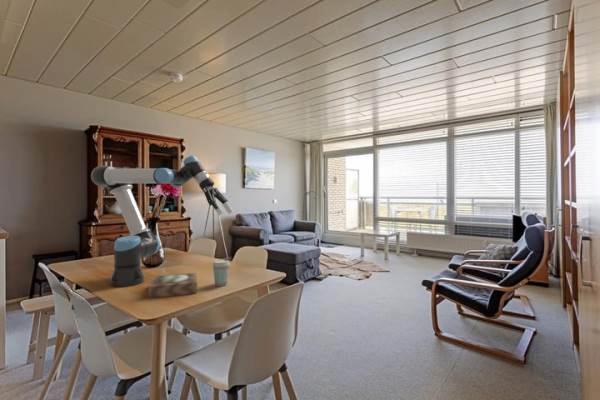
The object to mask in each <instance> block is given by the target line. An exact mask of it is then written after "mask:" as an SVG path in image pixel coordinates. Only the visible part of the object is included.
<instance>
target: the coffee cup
mask: <svg viewBox="0 0 600 400" xmlns="http://www.w3.org/2000/svg"><path fill="white" fill-rule="evenodd" d="M230 266H231V263H230V261H229V260H228V259H215V260H213V263H212V269H213V277H214V286H215V287H224V286H228V285H227V284H228V278H229V271H230V270H229V269H230Z"/></svg>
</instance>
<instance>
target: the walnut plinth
mask: <svg viewBox="0 0 600 400" xmlns="http://www.w3.org/2000/svg"><path fill="white" fill-rule="evenodd" d="M197 293H198V281H197V272H190V273H180V274H179V273H177V274H164V275H154V276H152V278H151V281H150V284H149V286H148V298H149V299H152V298H153V299H154V298H162V297H173V296H182V295H191V294H197Z"/></svg>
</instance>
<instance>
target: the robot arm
mask: <svg viewBox="0 0 600 400" xmlns="http://www.w3.org/2000/svg"><path fill="white" fill-rule="evenodd" d="M182 162H183V164H184V165H183V166H182V167H181V168H180V169H172V168H171V169H170V168H168V167H160V168H124V167H120V166H109V165H98V166H96V167H94V168H93V170H92V171H91V174H90V178H91V181H92V183H94V185H96V186H98V187H101V188H108V190H109V191H108V192H109V193H110V194H111V195H113V196H114V198H115V200H116V203H117V204H118V207H119V209H120V210H119V211H120V212H121V215H122V217H123V219H124V221H125V225H126V226H127V229H128V231H129V234H130V235H127V236H122V237H119V238H117V239H116V240H114V243H113V244H114V246H113V253H114V254H113V255H114V257H113V259H114V264H113V265H114V269H113V272H112V274H111V277H110V281H109V285H110V286H112V287H121V288H123V287H128V286H129V287H130V286H135V285H140V284H141V283H143V282H145V276H144V272H143V271H142V268H141V259H143V258H147V257H151V256H153V255H156V253H157V252H159V249H160V247H161V240H160V238H159V237H158V236H157V235H155V234H153V232H152V230H151V229H150V228H147V225H146V224H145V221H144V218H143V216H142V213H141V211H140V208H139V206H138V203H137V201H136V199H135V197H134V194H133V192H132V189H133V184H170V186H172V187H173V188H175V189H180V188H181V187H183V186H184V185H185V184H186V183H187V182H189V181H190V180H191V179H194V181H195V182H196V184H197V185H198V186H199V188H200V189H201V191H202V192H203V193H204V195H205V198H206V201H207V203H208V205H209V206H212V207H213V209H214V210H215V212H216V213H217V215H218V217H219V216H221V215H223V214H224V211H223V209H222V208H221V206H220V204H218V202H216V199H217V200H218V201H219V202H220V203H221V205H222V207H223V208H224V209H225V211H226V212H227V214H228V215H230V214H232V213H233V212H234V210H233V209H232V208H231V206H230V205H229V202H228V199H227V198H226V197H225V196H224V195H223V194H222V193H221V192H220V191H219V189H218V188H217V187H214V185H215V182H214V180H213V179H212V177H211V176H210V175H209V172H208V171H207V170H206V169H205V167H204V166H203V165H202V163H201V161H200V160H199V159H198V157H197V156H196V155H189V156H188V157H186V158H185V159H184V160H183V161H182Z"/></svg>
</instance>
